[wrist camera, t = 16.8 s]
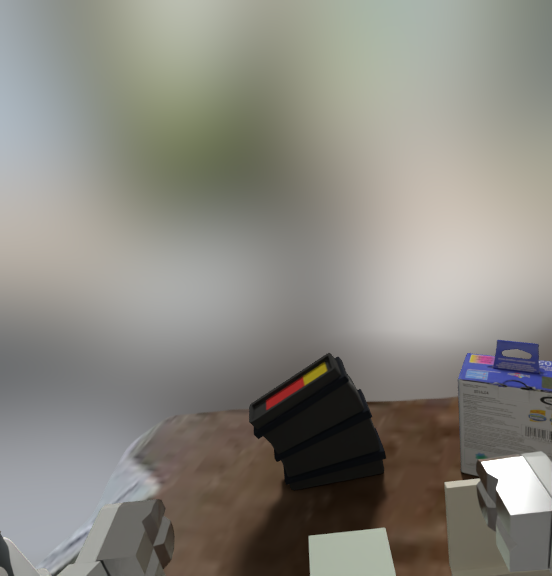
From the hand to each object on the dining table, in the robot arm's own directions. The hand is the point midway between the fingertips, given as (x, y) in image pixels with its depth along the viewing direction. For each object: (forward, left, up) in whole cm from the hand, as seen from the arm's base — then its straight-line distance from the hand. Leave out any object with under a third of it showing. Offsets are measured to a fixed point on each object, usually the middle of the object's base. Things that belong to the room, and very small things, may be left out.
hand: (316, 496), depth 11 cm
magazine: (-2, +29, -30) cm, 42 cm away
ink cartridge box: (+18, +27, -30) cm, 44 cm away
